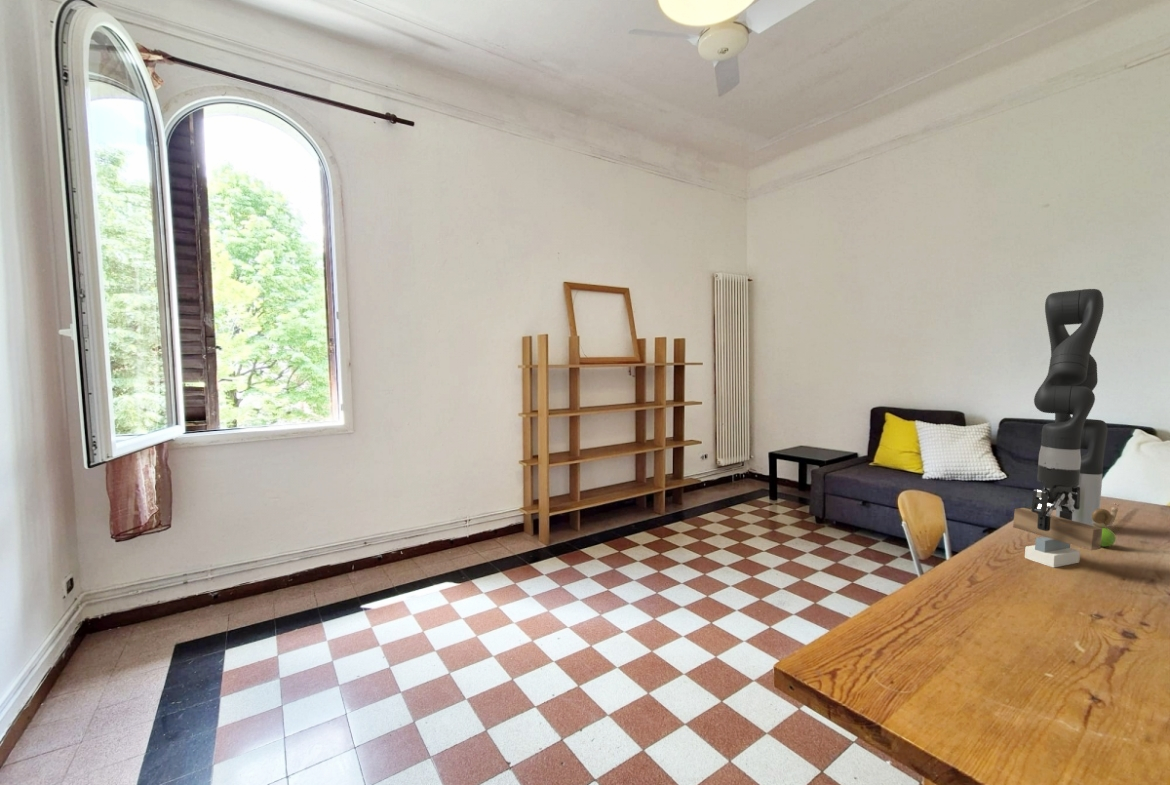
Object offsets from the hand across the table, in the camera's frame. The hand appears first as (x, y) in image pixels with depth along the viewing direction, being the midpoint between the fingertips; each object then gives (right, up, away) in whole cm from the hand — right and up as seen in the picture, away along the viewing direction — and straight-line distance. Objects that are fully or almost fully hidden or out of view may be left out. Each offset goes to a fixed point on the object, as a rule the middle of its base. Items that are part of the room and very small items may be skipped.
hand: (1054, 528), depth 122 cm
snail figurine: (+23, -8, +10) cm, 26 cm away
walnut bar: (0, -2, 0) cm, 2 cm away
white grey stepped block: (0, -8, +1) cm, 8 cm away
